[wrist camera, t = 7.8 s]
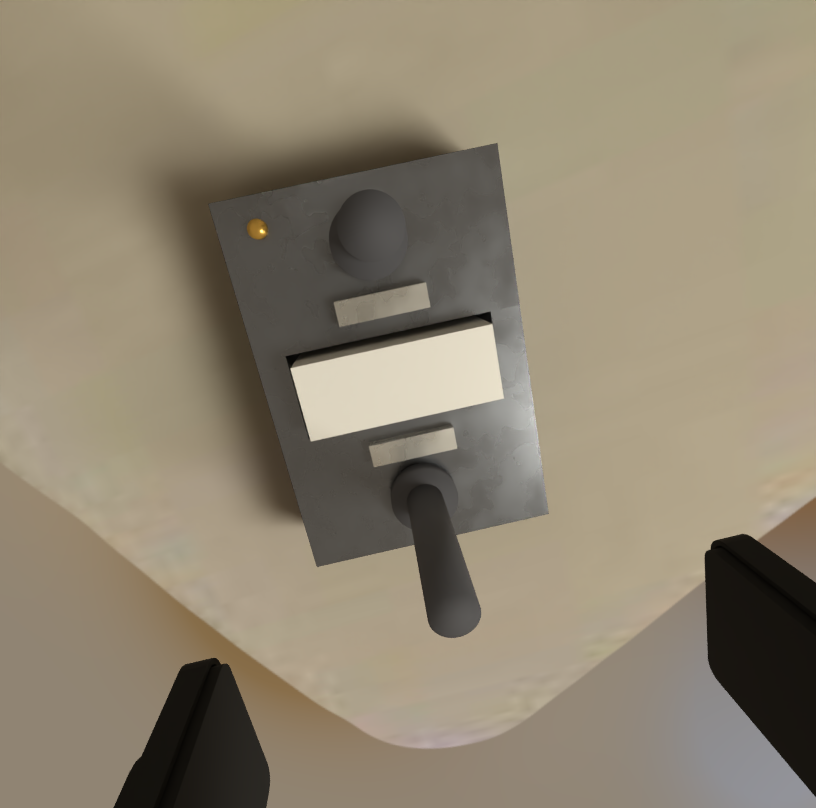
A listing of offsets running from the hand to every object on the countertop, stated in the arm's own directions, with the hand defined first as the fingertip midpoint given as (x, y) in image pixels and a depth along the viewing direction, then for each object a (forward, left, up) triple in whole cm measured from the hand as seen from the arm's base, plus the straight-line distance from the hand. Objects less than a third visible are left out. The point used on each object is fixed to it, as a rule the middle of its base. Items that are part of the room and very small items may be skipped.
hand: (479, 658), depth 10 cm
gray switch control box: (0, 0, -32) cm, 32 cm away
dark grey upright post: (-9, 0, -26) cm, 27 cm away
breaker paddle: (0, 0, -30) cm, 30 cm away
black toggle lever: (+9, 0, -26) cm, 27 cm away
